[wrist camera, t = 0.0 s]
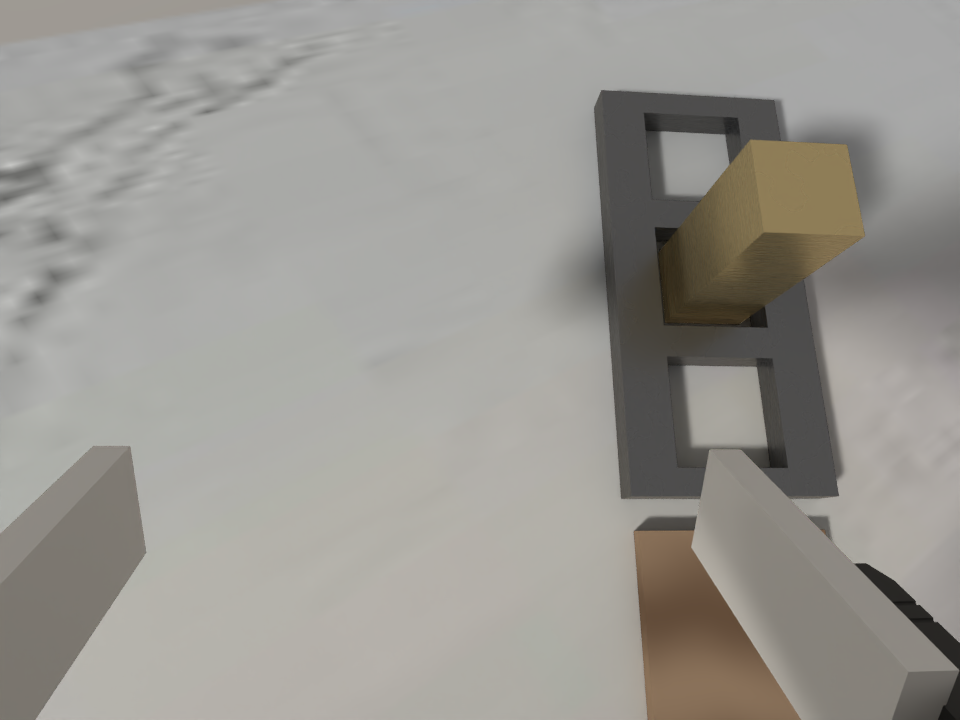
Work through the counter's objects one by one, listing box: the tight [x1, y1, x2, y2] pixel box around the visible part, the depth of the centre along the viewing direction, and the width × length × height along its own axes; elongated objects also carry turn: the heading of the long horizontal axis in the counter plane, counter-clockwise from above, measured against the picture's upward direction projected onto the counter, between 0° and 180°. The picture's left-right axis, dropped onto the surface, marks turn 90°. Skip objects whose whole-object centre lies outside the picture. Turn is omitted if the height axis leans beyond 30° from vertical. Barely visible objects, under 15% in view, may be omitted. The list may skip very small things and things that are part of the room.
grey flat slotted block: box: [594, 90, 839, 499], centre depth 33 cm, size 22×10×2 cm, turn 0°
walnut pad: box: [634, 530, 826, 720], centre depth 29 cm, size 9×9×1 cm
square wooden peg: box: [658, 140, 865, 325], centre depth 29 cm, size 4×4×10 cm
